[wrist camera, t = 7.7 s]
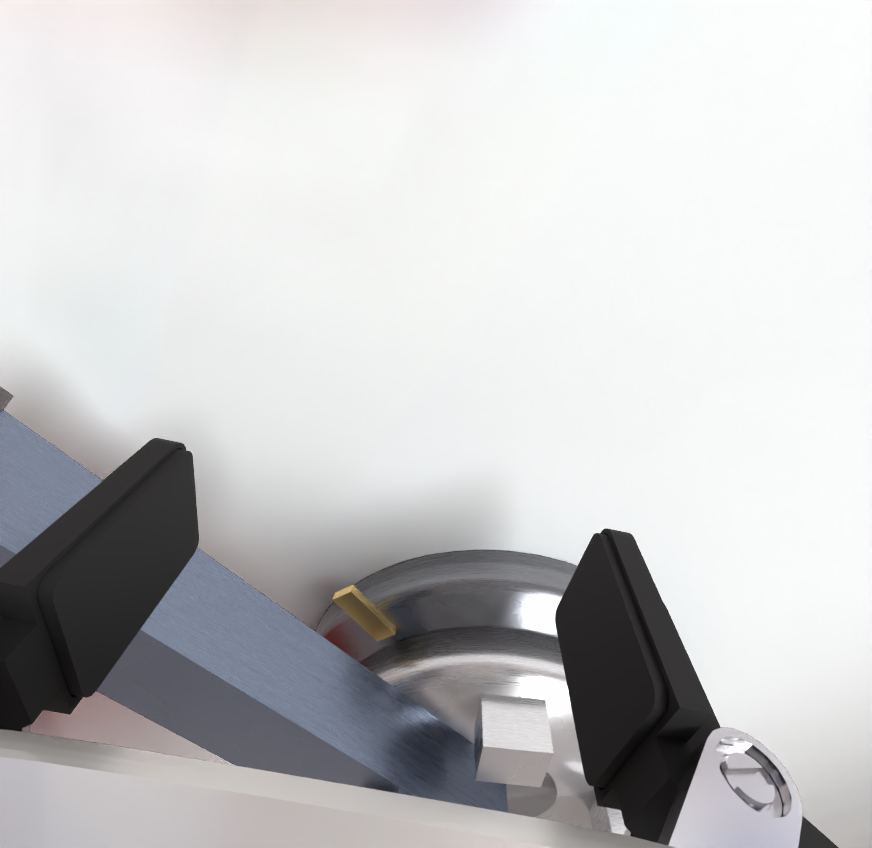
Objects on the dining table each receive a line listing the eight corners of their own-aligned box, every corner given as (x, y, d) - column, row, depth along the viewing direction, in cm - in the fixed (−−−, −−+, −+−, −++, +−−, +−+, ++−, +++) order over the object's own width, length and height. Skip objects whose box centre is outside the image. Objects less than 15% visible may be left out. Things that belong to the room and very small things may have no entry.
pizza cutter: (93, 158, 9) (-232, 149, 5) (709, 753, 19) (783, 931, 14) (-114, 480, 14) (-377, 620, 10) (463, 828, 23) (463, 979, 19)
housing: (742, 594, 17) (779, 650, 15) (589, 789, 25) (600, 843, 23) (325, 513, 17) (305, 561, 15) (300, 740, 24) (286, 792, 22)
